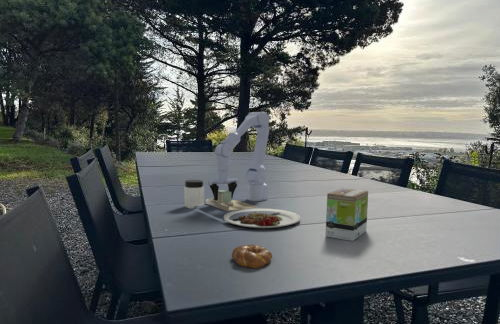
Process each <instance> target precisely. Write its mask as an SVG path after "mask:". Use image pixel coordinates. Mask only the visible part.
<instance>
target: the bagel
mask: <svg viewBox="0 0 500 324" xmlns="http://www.w3.org/2000/svg"><path fill="white" fill-rule="evenodd" d="M231 258H232V261H234V262H235V263H236V264H237V265H238V266H240V267H245V268H249V269H260V268H262V267H263V268H264V266H266V265H269V264H270V263H271V261H272V259H273V254H272V252H271V251H270V250H268V249H267V248H266V247H263V246H259V245H257V244H254V243H253V244H247V245H245V244H244V245H243V244H242V245H240V246H237V247H235V248H234V249H233V250H232V253H231Z"/></svg>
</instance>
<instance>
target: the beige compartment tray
mask: <svg viewBox="0 0 500 324" xmlns="http://www.w3.org/2000/svg"><path fill="white" fill-rule="evenodd" d="M205 204H207V205H210V206H212V207H214V208H217V209H220V210H223V211H225V212H232V211H236V210H243V209H257V206H256V205H252V204H251V203H246V202H243V201H240V200H238V199H231V201H230V202H221V203H219V202H217V201H216V200H214V197H213V198H205Z"/></svg>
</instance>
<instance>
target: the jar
mask: <svg viewBox="0 0 500 324" xmlns="http://www.w3.org/2000/svg"><path fill="white" fill-rule="evenodd" d="M184 185H185V186H184V187H183V188H184V189H183V190H184V191H183V192H184V195H183V197H184V200H183V201H184V208H187V209H197V207H201V206H203V205H205V186H204V181H203V180H201V179H188V180H185V181H184Z"/></svg>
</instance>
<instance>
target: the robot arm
mask: <svg viewBox="0 0 500 324" xmlns="http://www.w3.org/2000/svg"><path fill="white" fill-rule="evenodd" d="M269 124H270V117H269V115H268V113H267V112H265V111H256V112H255V111H254V112H253V111H252V112H249V113H248V114H247V115H246V116H245V118H244V120H243V121H242V122H241V124H240V125H239V126H238V128H237V129H236V130H235V131H231V132H230V133H228V134H227V137H225V138H224V140H222V141H221V143H220V144H217V145H216V147H215V150H214V154H215V156H216V164H217V165H216V171H217V172H216V175H217V176H216V179H210V180H208V181H207V185H208V186H209V188H210V190H211V192H212V195H213V198H214V200H216V201H217V200H218V191H219V190H220V189H219V187H220V186H219V185H223V184H224V185H225V184H227V187H228V191H229V192H231V200H233V198H234V194H235V191H236V188H237V187H238V183H239V178H237V177H236V178H230V177H231V176H230V172H231V171H230V168H231V167H230V162H231V161H230V157H231V155H232V154H233V151H234V148H235V147H236V146H237V145H239V143H240V142H241V137H242V136H244V134H245V133H246V132H247V131H248V130H249V129H250V128H251V127H252V128H253V129H255V131H256V132H257V135H256V139H255V143H254V144H255V145H254V150H253V154H252V155H253V157H252V161H251V164H250V165H249V166H248V168H247V171H246V172H245V174H244V175H245V177H244V178H245V180H246V181H247V185H248V186H247V187H248V189H247V190H248V191H247V194H248V195H247V199H248V201H252V202H260V201H266V200H269V187H268V185H267V183H265V182H266V180H267V174H266V173H267V169H266V168H265V166H264V161H265V156H266V151H267V144H268V139H269V134H270V125H269Z"/></svg>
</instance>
